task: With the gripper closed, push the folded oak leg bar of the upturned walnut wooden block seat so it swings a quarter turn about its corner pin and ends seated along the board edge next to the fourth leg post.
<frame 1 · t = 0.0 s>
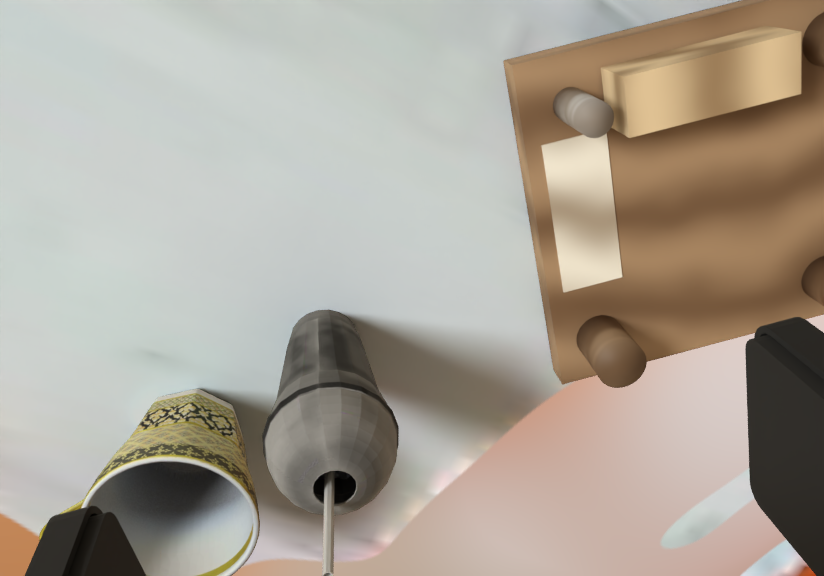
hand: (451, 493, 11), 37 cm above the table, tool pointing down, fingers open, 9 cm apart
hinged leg: (699, 80, 43), point 4 cm above the table, hinge at 90.0°
beverage cup: (324, 338, 51), on the table
ceramic cup: (170, 432, 52), on the table
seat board: (691, 188, 50), on the table
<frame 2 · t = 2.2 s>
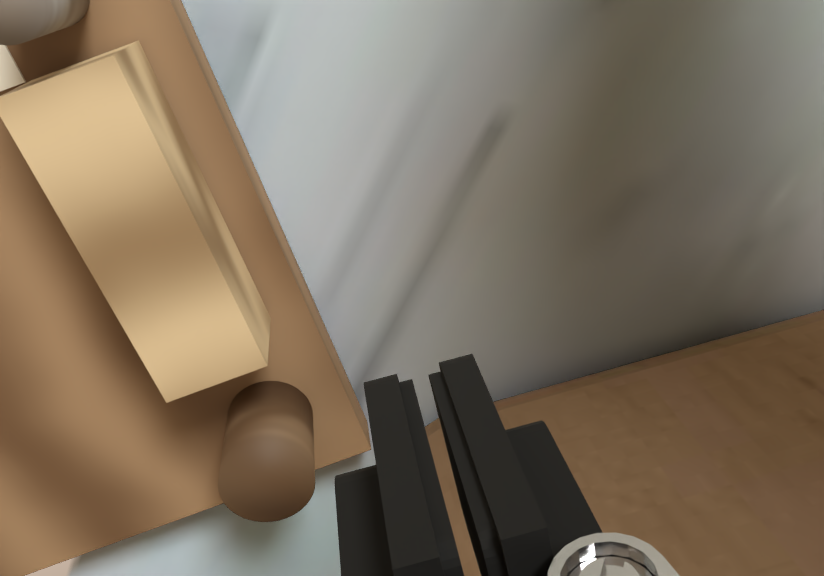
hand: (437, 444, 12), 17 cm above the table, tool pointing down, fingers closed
wooden block: (660, 530, 37), on the table
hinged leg: (152, 226, 23), point 4 cm above the table, hinge at 90.0°
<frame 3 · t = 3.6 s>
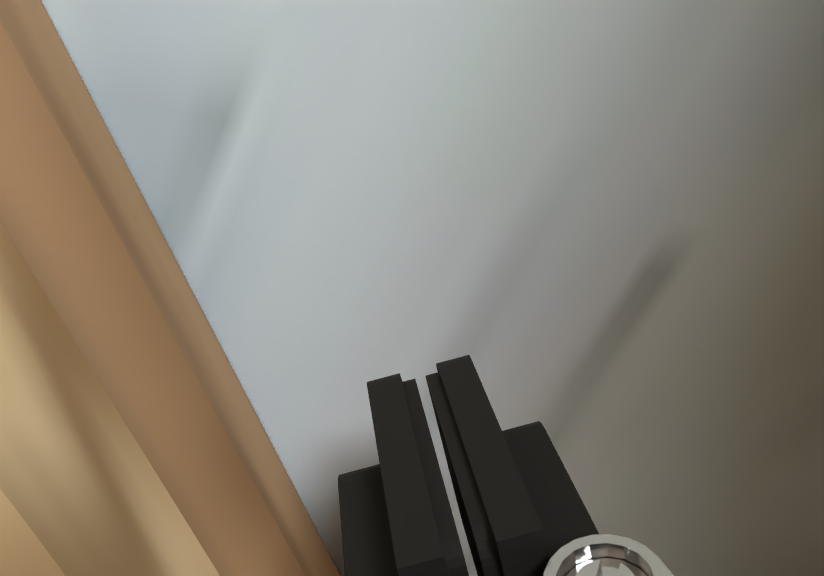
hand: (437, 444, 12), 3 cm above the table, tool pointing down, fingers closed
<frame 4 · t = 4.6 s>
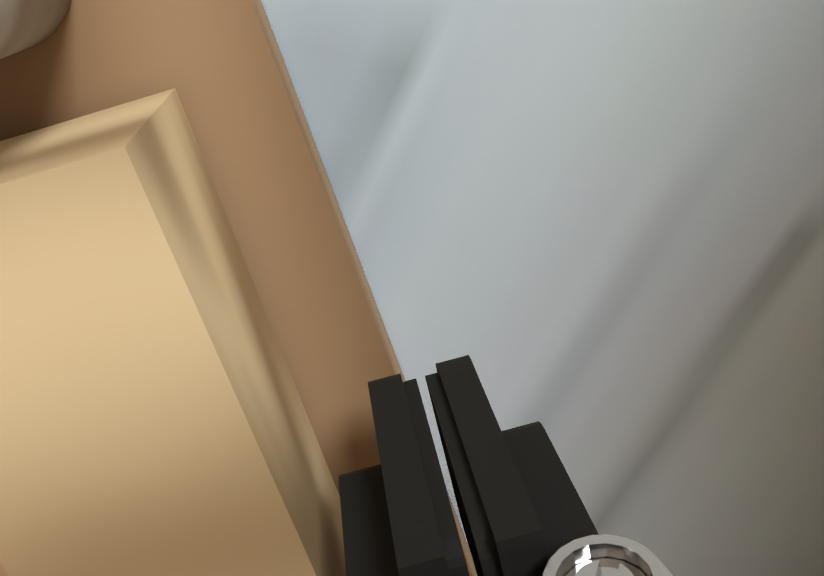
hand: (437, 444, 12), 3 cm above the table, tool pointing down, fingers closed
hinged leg: (181, 480, 11), point 4 cm above the table, hinge at 87.6°, touching gripper
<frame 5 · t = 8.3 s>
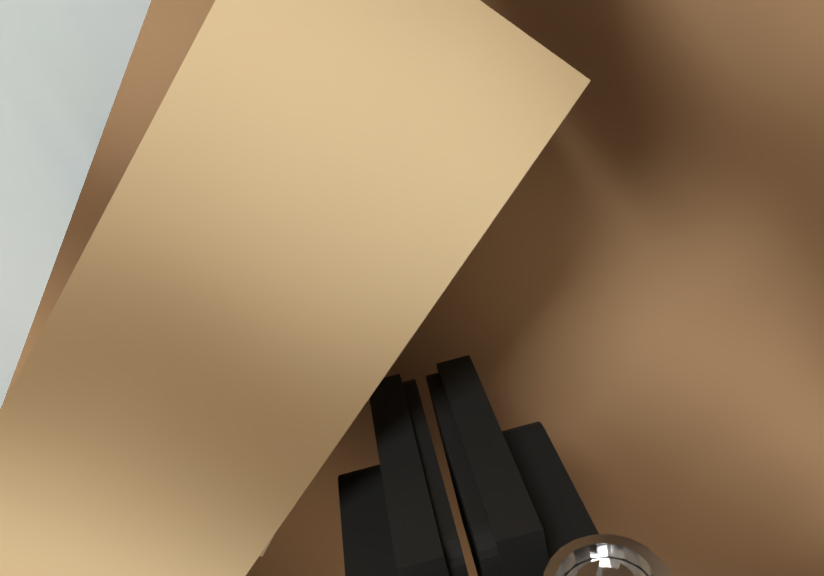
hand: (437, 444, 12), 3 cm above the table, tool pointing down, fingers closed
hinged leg: (213, 323, 10), point 4 cm above the table, hinge at -5.9°
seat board: (600, 424, 16), on the table
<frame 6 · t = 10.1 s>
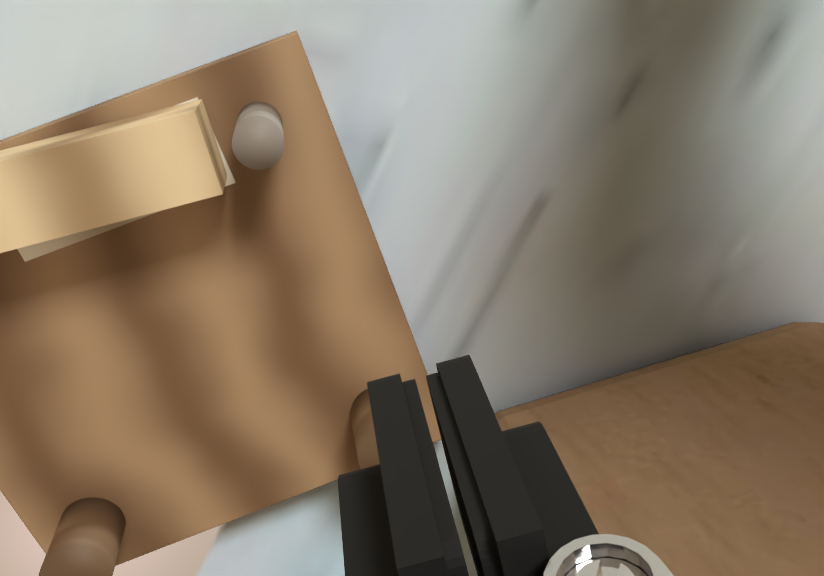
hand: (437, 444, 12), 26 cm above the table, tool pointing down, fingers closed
wooden block: (659, 500, 49), on the table
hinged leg: (92, 176, 31), point 4 cm above the table, hinge at -5.9°
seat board: (174, 323, 38), on the table
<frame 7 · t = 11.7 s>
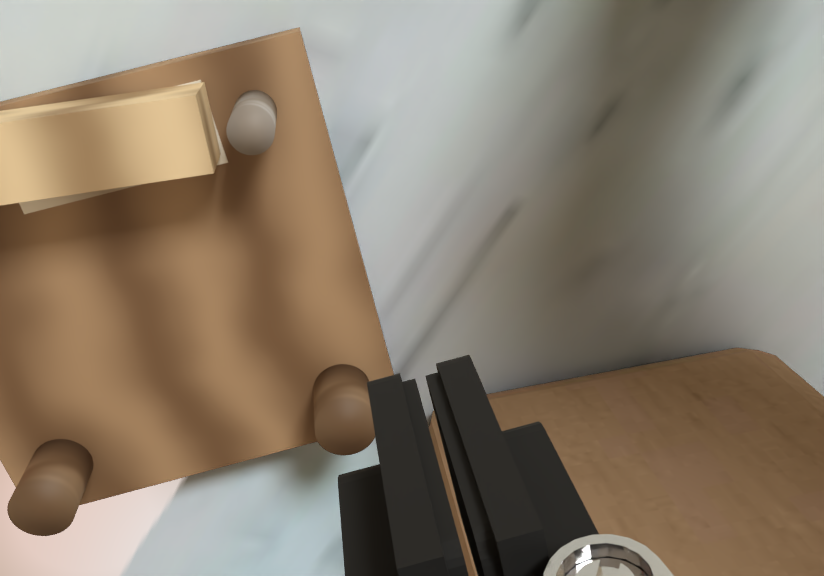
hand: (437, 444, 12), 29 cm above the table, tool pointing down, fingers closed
wooden block: (595, 499, 52), on the table
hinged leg: (95, 143, 34), point 4 cm above the table, hinge at -5.9°
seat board: (158, 285, 41), on the table
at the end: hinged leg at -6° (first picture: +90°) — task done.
